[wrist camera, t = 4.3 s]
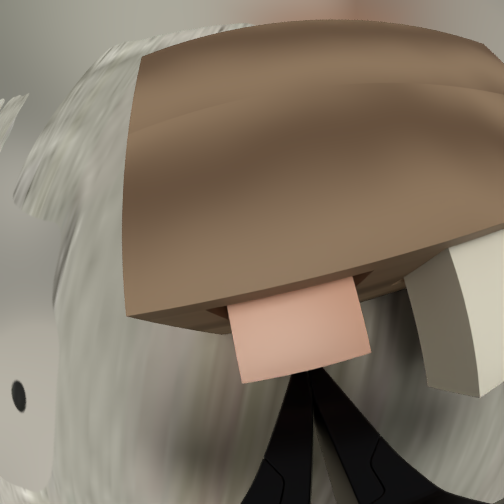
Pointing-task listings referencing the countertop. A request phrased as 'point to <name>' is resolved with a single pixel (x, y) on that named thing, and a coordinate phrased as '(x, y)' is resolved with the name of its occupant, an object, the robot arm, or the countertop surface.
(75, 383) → the countertop surface
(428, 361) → the key ivory
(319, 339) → the key terracotta
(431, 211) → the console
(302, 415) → the robot arm
